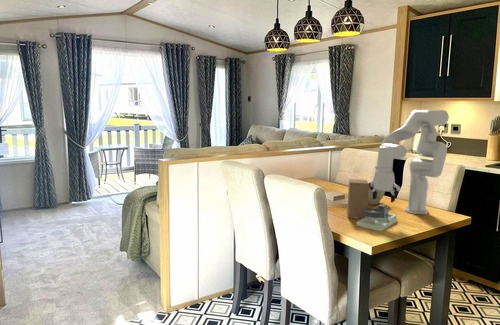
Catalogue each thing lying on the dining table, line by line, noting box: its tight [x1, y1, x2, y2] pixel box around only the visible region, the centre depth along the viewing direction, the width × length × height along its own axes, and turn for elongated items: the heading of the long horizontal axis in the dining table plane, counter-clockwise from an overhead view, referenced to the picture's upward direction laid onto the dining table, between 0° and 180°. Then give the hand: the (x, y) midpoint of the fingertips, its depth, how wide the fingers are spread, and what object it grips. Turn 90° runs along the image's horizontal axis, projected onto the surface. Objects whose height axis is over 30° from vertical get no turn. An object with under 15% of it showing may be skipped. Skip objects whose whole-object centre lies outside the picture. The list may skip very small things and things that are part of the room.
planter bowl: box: [367, 184, 386, 206], centre depth 245 cm, size 16×16×11 cm
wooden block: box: [346, 178, 369, 219], centre depth 216 cm, size 10×10×20 cm
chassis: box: [356, 211, 398, 232], centre depth 203 cm, size 22×13×8 cm, turn 139°
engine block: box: [374, 203, 390, 218], centre depth 207 cm, size 6×5×7 cm
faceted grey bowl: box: [363, 207, 383, 218], centre depth 198 cm, size 9×9×2 cm
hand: (383, 200), depth 207 cm, fingers open, 9 cm apart
